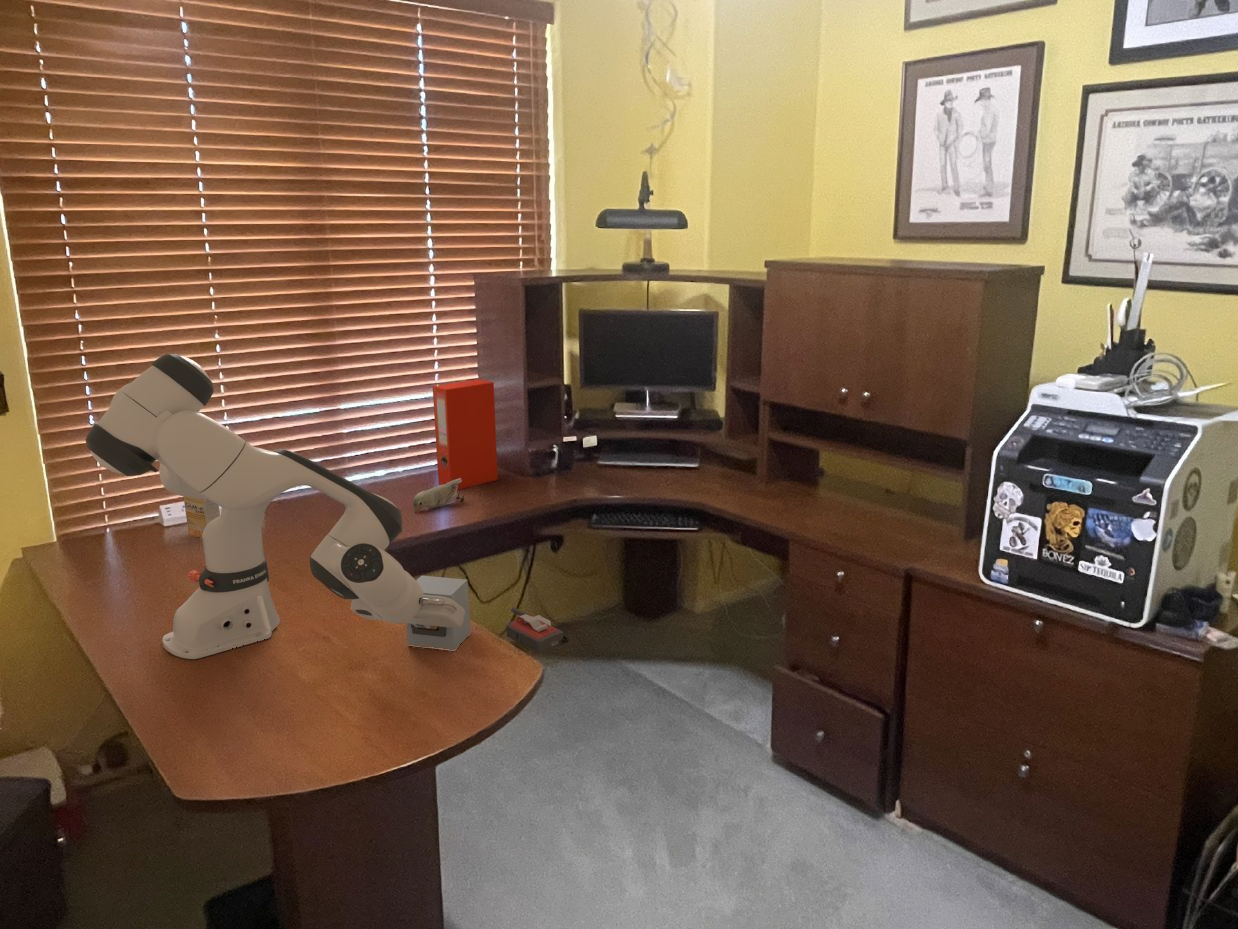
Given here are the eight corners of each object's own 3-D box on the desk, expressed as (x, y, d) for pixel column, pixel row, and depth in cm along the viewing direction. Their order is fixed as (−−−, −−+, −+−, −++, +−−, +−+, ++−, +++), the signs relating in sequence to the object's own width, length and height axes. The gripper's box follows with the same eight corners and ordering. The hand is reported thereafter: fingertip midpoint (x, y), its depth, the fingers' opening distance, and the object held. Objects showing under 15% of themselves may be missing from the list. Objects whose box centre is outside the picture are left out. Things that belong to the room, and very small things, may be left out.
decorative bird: (409, 511, 264) (408, 486, 262) (458, 500, 274) (456, 476, 272) (418, 515, 260) (417, 490, 258) (467, 504, 270) (466, 479, 268)
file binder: (498, 480, 293) (493, 382, 285) (452, 491, 282) (446, 389, 274) (484, 475, 299) (479, 379, 290) (438, 485, 288) (432, 386, 279)
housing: (453, 653, 178) (449, 597, 175) (406, 648, 180) (401, 592, 177) (470, 634, 186) (467, 579, 183) (425, 629, 188) (421, 575, 185)
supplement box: (187, 535, 245) (180, 489, 242) (202, 530, 249) (196, 484, 246) (208, 540, 242) (202, 493, 238) (223, 534, 246) (217, 488, 242)
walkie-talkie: (577, 643, 183) (516, 613, 196) (577, 623, 181) (515, 594, 195) (543, 658, 177) (483, 626, 191) (543, 637, 175) (481, 606, 189)
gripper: (454, 586, 164) (478, 613, 175) (352, 576, 168) (381, 604, 180) (446, 619, 161) (470, 645, 172) (341, 608, 165) (372, 634, 177)
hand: (424, 624), depth 176 cm, fingers closed, pressing on peg
